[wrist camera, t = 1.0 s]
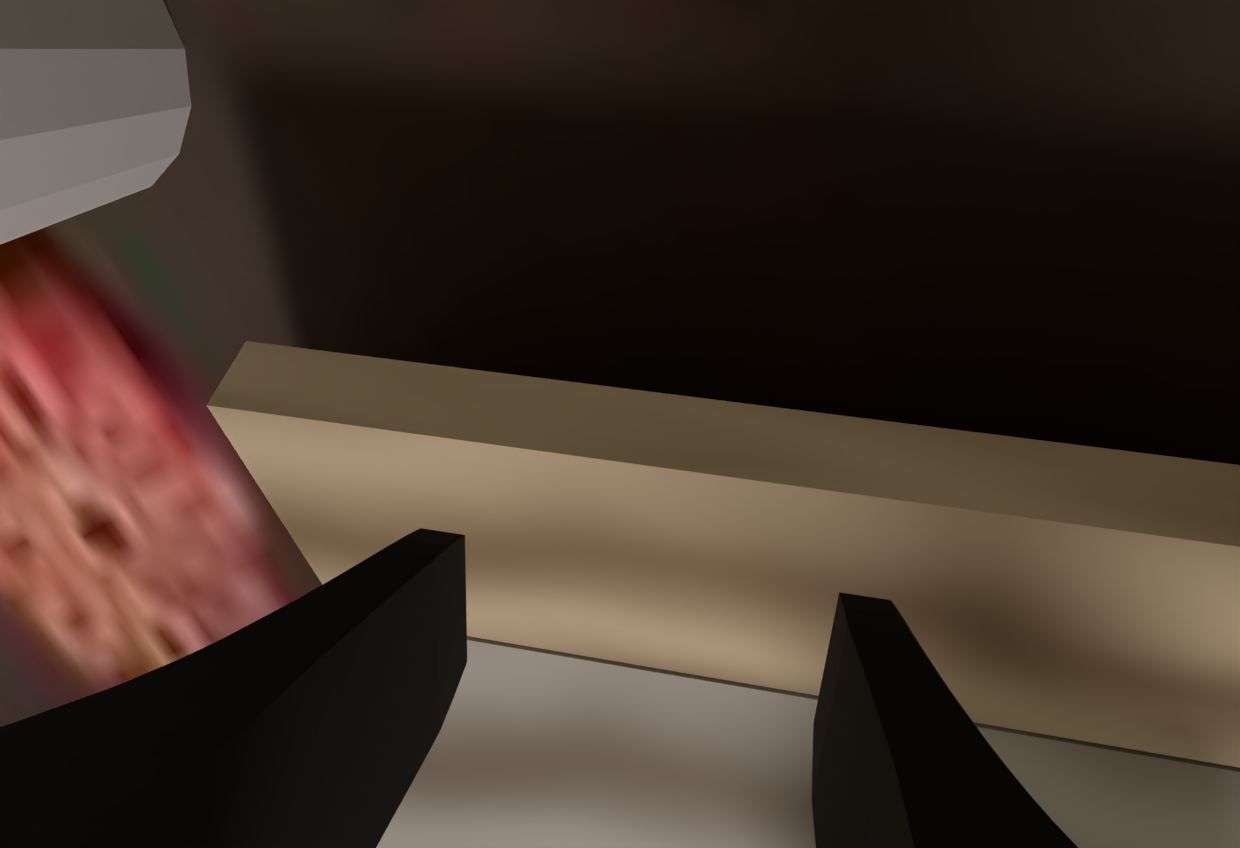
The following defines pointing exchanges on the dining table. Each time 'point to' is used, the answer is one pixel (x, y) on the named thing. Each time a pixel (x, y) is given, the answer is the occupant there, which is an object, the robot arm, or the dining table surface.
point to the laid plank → (727, 767)
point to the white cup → (85, 105)
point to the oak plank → (772, 536)
